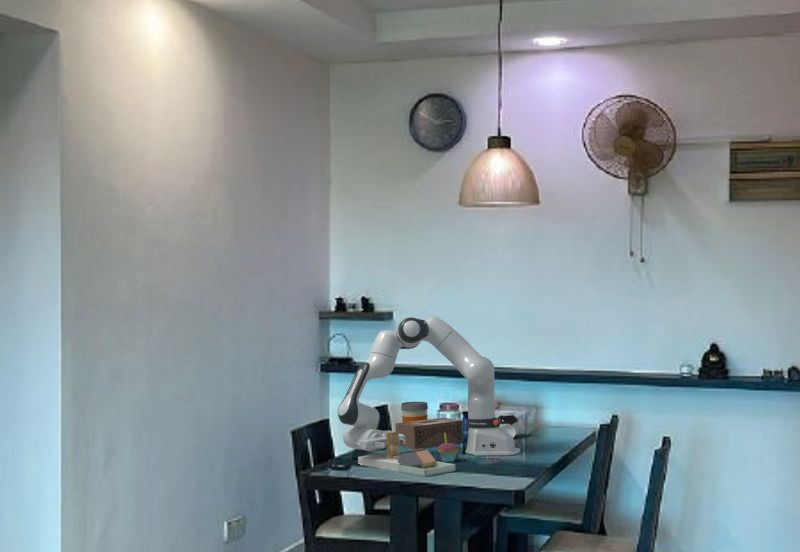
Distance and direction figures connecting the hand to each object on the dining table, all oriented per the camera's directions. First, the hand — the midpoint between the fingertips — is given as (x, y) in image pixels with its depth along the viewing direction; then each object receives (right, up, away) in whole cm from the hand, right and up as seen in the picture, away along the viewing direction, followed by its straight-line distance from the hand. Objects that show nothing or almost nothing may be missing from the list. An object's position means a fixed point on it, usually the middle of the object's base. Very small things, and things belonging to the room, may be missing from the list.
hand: (394, 443), depth 406 cm
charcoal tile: (+5, -6, -12) cm, 14 cm away
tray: (+12, -8, -14) cm, 20 cm away
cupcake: (+21, -8, +8) cm, 24 cm away
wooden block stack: (+2, -5, -2) cm, 6 cm away
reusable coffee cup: (+9, -9, +81) cm, 82 cm away
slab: (-1, -9, +1) cm, 9 cm away
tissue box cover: (+15, -9, +53) cm, 56 cm away
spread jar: (+50, -8, +62) cm, 81 cm away
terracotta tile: (+11, -6, -7) cm, 14 cm away
